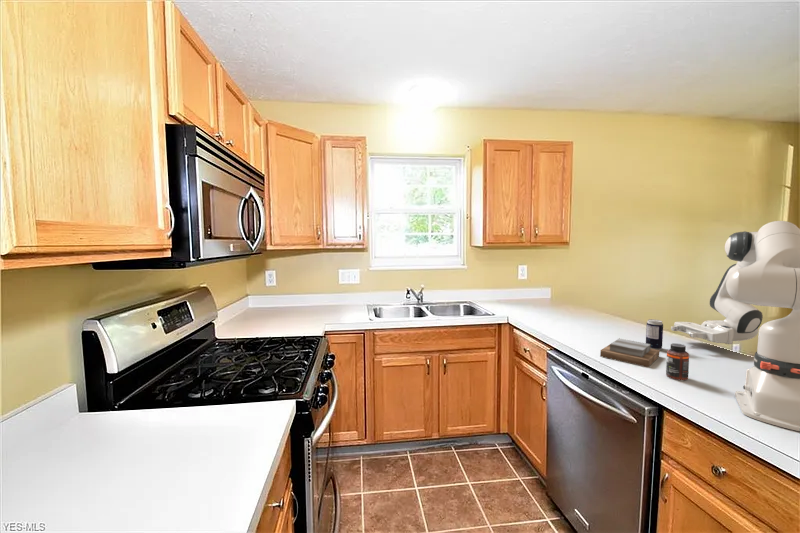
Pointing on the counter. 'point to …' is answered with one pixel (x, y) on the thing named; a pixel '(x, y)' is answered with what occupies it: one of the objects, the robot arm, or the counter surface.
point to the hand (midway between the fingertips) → (681, 331)
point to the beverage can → (654, 334)
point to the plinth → (631, 357)
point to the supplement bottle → (677, 362)
